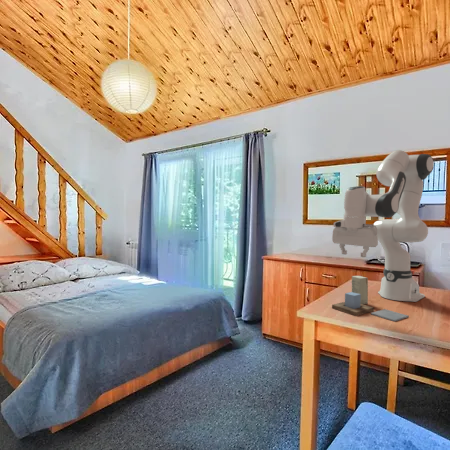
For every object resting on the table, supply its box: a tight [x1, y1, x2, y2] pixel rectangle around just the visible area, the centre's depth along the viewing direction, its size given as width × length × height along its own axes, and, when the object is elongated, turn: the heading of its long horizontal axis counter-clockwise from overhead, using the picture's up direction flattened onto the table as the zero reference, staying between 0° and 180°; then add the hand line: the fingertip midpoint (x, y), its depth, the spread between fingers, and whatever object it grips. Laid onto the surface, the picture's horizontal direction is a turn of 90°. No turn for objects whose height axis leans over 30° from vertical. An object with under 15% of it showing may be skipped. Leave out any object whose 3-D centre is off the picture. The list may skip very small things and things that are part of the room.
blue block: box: [344, 291, 361, 309], centre depth 135 cm, size 4×4×7 cm
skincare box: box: [351, 275, 369, 305], centre depth 145 cm, size 6×4×12 cm
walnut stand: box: [331, 301, 375, 317], centre depth 135 cm, size 12×12×2 cm
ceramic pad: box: [370, 308, 409, 323], centre depth 127 cm, size 10×10×1 cm
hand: (353, 255), depth 134 cm, fingers open, 8 cm apart
